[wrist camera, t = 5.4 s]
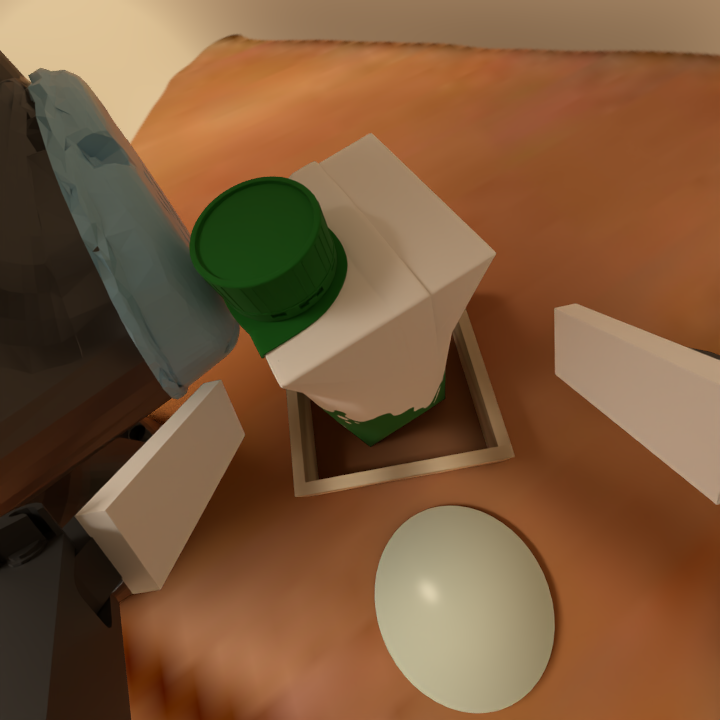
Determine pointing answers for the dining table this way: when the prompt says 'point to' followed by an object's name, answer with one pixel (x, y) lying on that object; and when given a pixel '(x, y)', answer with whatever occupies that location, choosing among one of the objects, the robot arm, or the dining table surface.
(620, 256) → the dining table surface
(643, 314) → the dining table surface
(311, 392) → the soya milk
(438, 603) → the pale green disc
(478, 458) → the dock
